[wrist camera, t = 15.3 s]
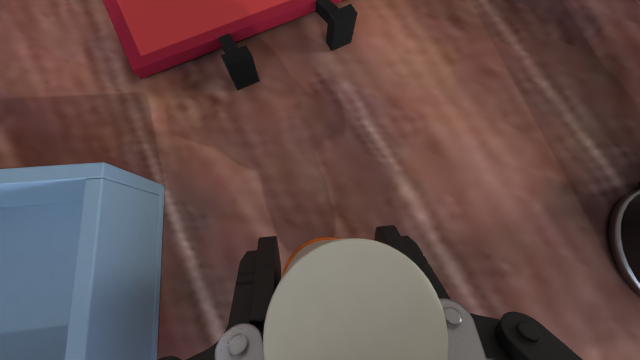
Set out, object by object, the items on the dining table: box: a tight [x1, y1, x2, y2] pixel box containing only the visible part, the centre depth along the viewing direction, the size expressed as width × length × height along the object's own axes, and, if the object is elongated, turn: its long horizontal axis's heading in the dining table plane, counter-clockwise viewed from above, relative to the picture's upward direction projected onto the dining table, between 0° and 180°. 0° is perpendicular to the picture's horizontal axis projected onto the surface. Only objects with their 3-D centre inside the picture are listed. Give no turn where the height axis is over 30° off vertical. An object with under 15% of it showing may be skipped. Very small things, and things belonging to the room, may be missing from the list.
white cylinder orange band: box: [263, 237, 448, 360], centre depth 10 cm, size 5×5×9 cm
